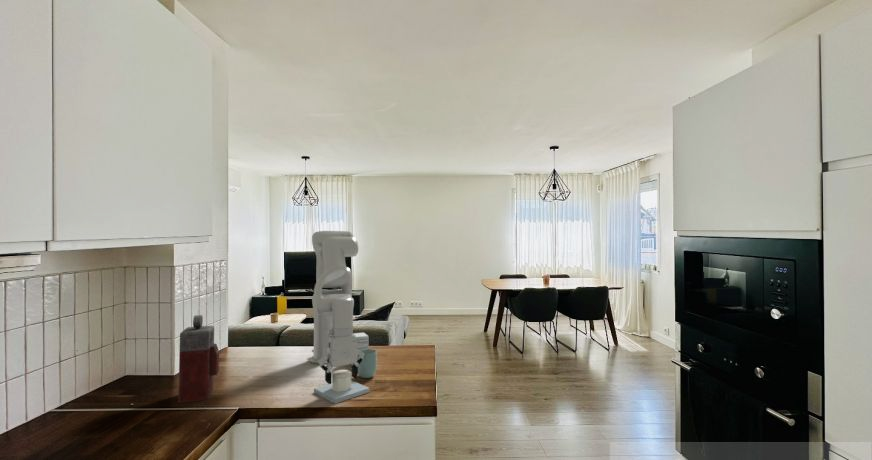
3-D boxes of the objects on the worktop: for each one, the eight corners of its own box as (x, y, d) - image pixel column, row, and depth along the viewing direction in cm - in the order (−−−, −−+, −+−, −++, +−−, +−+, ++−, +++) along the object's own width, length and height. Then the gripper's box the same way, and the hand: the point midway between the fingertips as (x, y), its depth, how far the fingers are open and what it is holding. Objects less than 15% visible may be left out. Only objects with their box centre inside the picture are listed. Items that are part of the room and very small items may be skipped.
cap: (351, 390, 138) (351, 374, 139) (332, 392, 137) (332, 376, 137) (350, 384, 145) (350, 368, 145) (332, 385, 143) (332, 370, 143)
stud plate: (313, 392, 140) (314, 376, 140) (347, 382, 150) (347, 368, 151) (335, 403, 131) (335, 386, 131) (369, 392, 141) (369, 376, 141)
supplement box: (348, 362, 176) (348, 333, 177) (364, 360, 179) (364, 332, 180) (351, 366, 170) (352, 337, 170) (368, 364, 173) (368, 335, 173)
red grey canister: (216, 398, 135) (217, 316, 136) (178, 402, 131) (180, 318, 132) (220, 389, 144) (221, 311, 144) (184, 393, 140) (186, 313, 140)
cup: (366, 381, 151) (366, 355, 152) (352, 377, 156) (352, 352, 156) (380, 376, 158) (380, 351, 158) (367, 372, 162) (367, 347, 163)
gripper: (322, 337, 133) (321, 388, 133) (368, 330, 143) (368, 378, 143) (314, 333, 139) (314, 382, 139) (359, 327, 149) (359, 372, 149)
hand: (341, 380), depth 141 cm, fingers open, 9 cm apart
